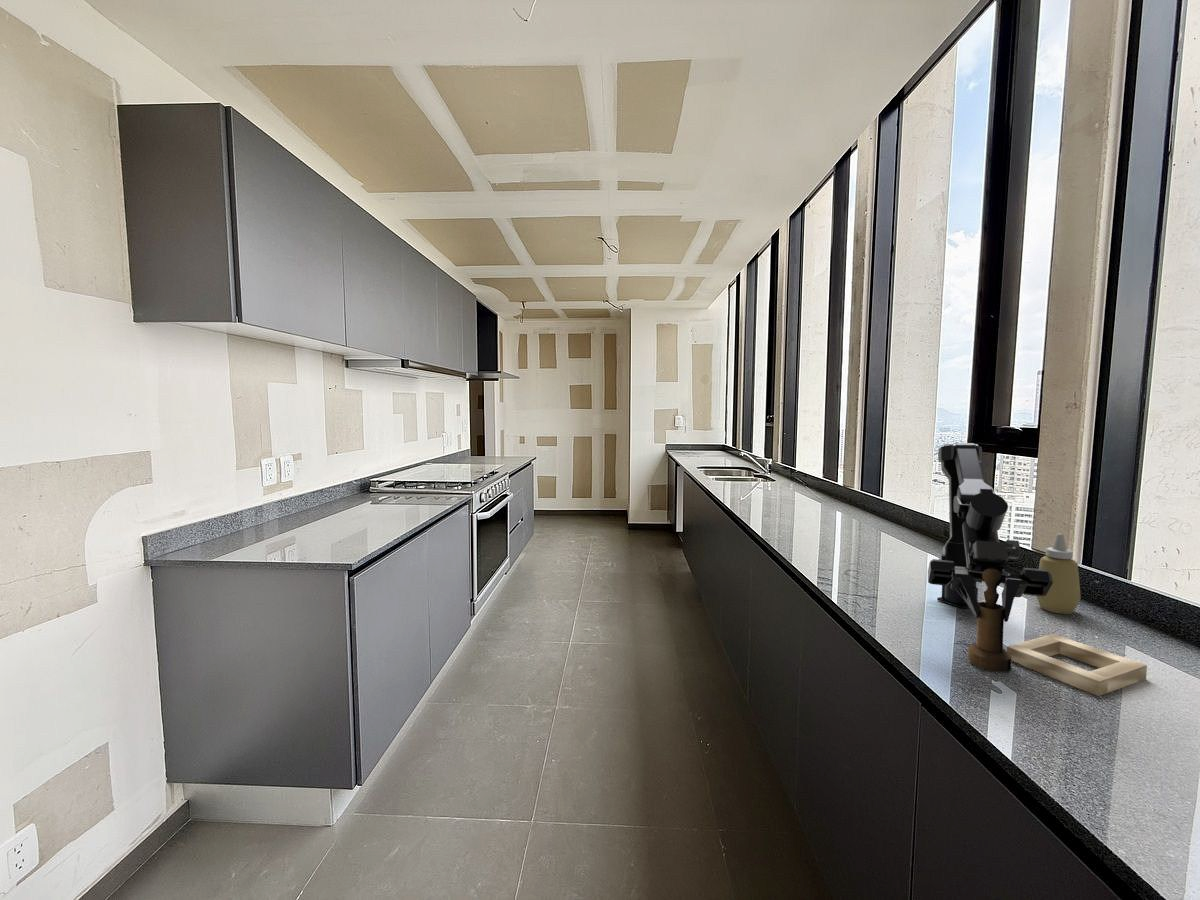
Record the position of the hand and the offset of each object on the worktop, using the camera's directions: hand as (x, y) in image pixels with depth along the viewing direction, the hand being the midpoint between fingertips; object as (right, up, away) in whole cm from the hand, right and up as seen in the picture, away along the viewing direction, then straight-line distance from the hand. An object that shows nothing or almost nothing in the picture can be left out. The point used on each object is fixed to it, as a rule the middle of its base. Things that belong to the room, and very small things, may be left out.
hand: (991, 618), depth 95 cm
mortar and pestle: (+1, -9, +2) cm, 9 cm away
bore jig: (+15, -9, 0) cm, 17 cm away
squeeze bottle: (+35, -7, +27) cm, 45 cm away
